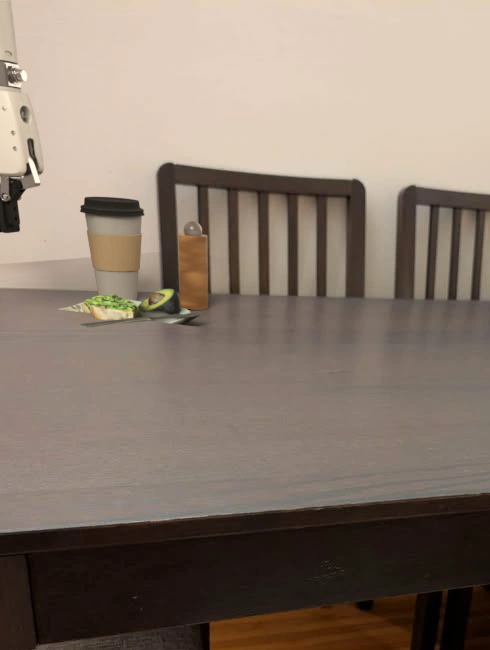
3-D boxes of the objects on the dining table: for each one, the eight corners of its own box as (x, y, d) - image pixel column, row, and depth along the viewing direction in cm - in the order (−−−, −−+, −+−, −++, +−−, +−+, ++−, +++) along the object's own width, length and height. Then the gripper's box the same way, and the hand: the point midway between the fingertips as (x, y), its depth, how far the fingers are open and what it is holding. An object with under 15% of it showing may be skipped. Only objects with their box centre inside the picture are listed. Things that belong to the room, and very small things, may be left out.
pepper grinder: (175, 307, 114) (172, 220, 109) (186, 303, 118) (185, 218, 113) (201, 311, 113) (200, 223, 108) (212, 306, 117) (211, 221, 112)
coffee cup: (160, 300, 118) (157, 202, 112) (114, 307, 111) (107, 202, 105) (120, 291, 123) (115, 196, 117) (73, 297, 115) (65, 196, 109)
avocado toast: (140, 351, 89) (139, 313, 87) (17, 331, 93) (13, 294, 91) (213, 323, 106) (213, 291, 105) (106, 307, 111) (104, 276, 109)
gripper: (58, 84, 94) (73, 234, 101) (-45, 79, 96) (-24, 226, 103) (23, 77, 87) (41, 238, 94) (-88, 72, 89) (-61, 230, 97)
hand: (7, 231), depth 99 cm, fingers closed
